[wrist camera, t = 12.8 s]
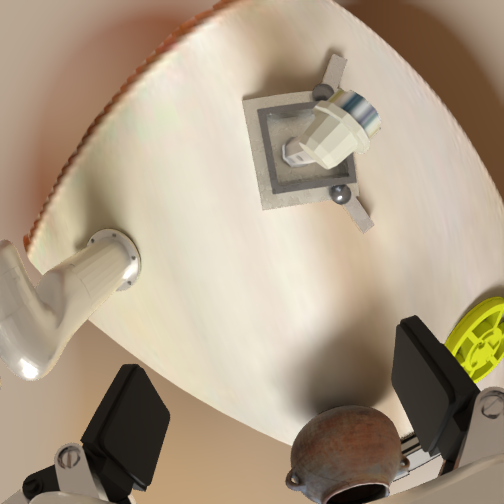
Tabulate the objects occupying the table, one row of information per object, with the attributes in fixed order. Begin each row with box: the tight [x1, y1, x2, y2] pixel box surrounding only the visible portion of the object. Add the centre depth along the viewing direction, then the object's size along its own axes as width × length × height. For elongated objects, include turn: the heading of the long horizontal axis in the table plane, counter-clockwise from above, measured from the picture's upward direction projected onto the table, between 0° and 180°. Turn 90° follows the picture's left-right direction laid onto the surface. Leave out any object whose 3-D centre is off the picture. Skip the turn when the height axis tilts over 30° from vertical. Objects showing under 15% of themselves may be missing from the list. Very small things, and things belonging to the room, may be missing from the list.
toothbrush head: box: [282, 88, 382, 169], centre depth 29 cm, size 5×7×25 cm
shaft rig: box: [242, 54, 374, 234], centre depth 38 cm, size 18×30×7 cm, turn 10°
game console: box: [393, 434, 441, 482], centre depth 64 cm, size 21×32×8 cm, turn 127°
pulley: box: [444, 296, 504, 383], centre depth 50 cm, size 28×28×5 cm
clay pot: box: [286, 405, 410, 504], centre depth 46 cm, size 26×25×30 cm
